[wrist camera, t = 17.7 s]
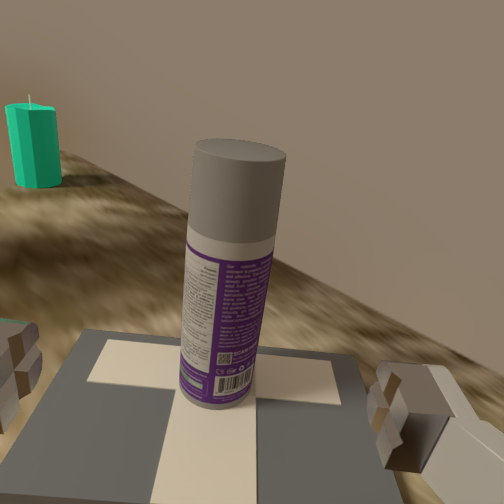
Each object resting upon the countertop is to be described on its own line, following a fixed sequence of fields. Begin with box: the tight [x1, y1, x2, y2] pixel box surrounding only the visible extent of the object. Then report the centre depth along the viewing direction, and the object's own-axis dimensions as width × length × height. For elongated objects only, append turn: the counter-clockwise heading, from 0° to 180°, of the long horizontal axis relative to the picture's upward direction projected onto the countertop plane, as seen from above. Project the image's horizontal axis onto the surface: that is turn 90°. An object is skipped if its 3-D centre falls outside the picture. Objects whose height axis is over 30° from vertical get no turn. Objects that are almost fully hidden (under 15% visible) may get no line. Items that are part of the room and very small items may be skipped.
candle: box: [5, 94, 62, 188], centre depth 55 cm, size 6×6×12 cm
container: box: [179, 139, 286, 410], centre depth 22 cm, size 5×5×15 cm
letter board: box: [0, 329, 404, 504], centre depth 24 cm, size 20×12×1 cm, turn 90°
